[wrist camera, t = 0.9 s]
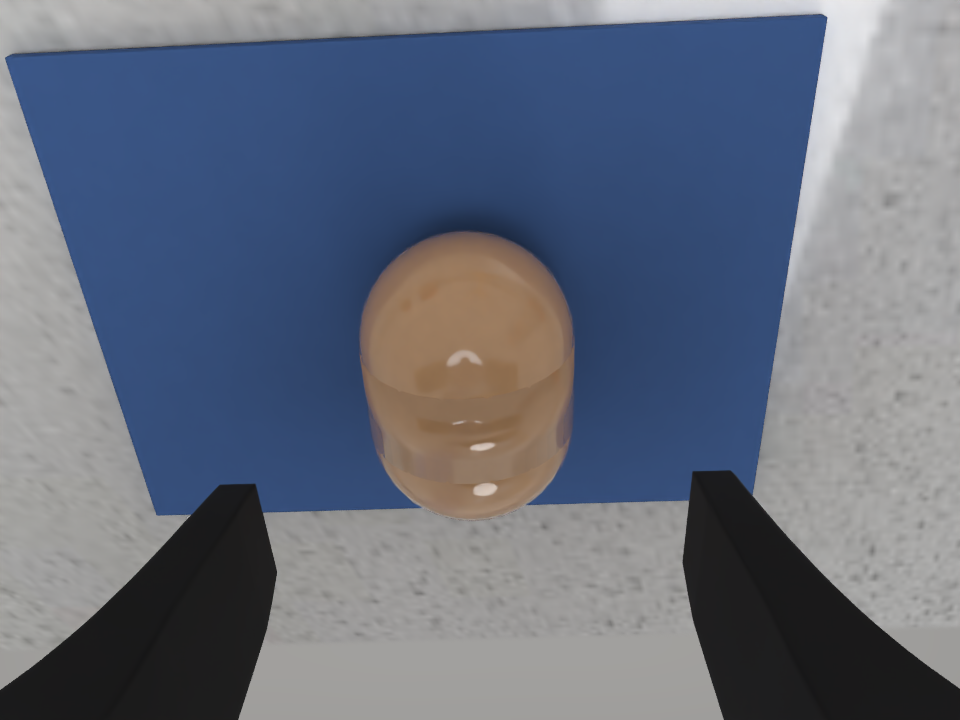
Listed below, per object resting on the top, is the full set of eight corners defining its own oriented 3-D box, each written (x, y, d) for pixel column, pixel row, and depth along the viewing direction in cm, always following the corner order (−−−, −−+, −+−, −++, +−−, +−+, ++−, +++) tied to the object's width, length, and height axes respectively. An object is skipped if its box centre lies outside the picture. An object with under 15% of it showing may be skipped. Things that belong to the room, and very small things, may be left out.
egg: (565, 434, 21) (580, 562, 18) (392, 440, 22) (370, 568, 18) (566, 193, 18) (586, 286, 14) (361, 201, 18) (326, 297, 14)
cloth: (159, 508, 23) (156, 516, 23) (10, 53, 17) (3, 57, 17) (749, 491, 23) (752, 499, 22) (822, 13, 16) (828, 16, 16)
